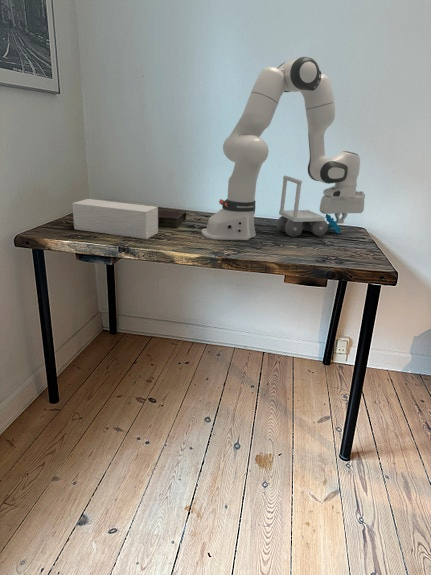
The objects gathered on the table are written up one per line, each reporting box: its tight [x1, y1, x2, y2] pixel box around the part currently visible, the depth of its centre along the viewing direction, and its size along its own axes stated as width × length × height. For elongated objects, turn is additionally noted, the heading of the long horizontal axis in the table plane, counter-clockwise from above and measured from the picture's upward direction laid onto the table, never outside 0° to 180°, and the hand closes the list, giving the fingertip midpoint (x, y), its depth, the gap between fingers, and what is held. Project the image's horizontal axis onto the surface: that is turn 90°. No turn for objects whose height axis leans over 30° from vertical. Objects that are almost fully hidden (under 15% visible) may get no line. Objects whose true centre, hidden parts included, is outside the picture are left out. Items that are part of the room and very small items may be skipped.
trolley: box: [276, 175, 329, 238], centre depth 173 cm, size 19×14×23 cm
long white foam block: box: [71, 198, 159, 240], centre depth 165 cm, size 32×11×11 cm, turn 73°
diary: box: [157, 208, 187, 230], centre depth 183 cm, size 19×25×5 cm
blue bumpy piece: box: [324, 214, 341, 234], centre depth 182 cm, size 11×6×10 cm
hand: (339, 223), depth 181 cm, fingers closed
